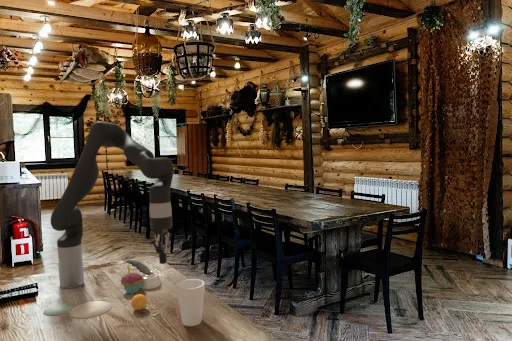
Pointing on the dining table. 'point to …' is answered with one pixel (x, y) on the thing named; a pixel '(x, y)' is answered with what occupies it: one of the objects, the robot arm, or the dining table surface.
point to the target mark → (90, 309)
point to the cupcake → (131, 281)
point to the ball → (139, 302)
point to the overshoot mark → (58, 309)
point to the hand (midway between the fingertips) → (163, 263)
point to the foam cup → (191, 300)
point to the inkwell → (146, 275)
